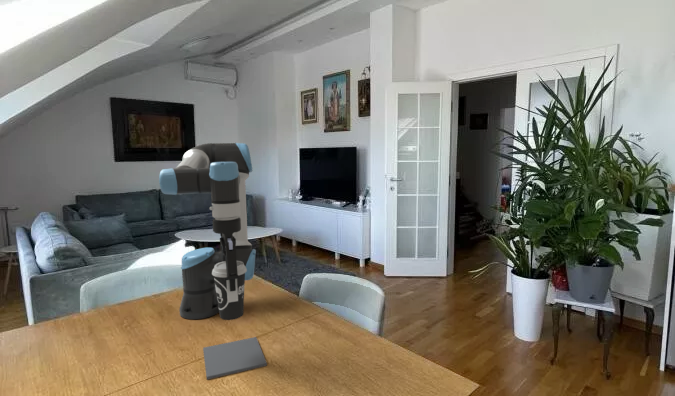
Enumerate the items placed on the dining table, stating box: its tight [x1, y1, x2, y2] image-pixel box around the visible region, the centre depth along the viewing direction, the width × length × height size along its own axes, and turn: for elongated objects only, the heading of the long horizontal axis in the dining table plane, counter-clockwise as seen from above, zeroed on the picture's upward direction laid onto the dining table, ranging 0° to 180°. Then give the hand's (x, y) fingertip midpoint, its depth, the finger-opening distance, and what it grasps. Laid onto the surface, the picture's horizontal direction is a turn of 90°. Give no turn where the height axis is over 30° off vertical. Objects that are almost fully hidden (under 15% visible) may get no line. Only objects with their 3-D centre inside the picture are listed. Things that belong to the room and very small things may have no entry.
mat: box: [202, 336, 268, 381], centre depth 109 cm, size 16×16×1 cm
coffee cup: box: [212, 261, 247, 321], centre depth 107 cm, size 10×10×15 cm
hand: (230, 294), depth 107 cm, fingers closed on coffee cup, 9 cm apart
